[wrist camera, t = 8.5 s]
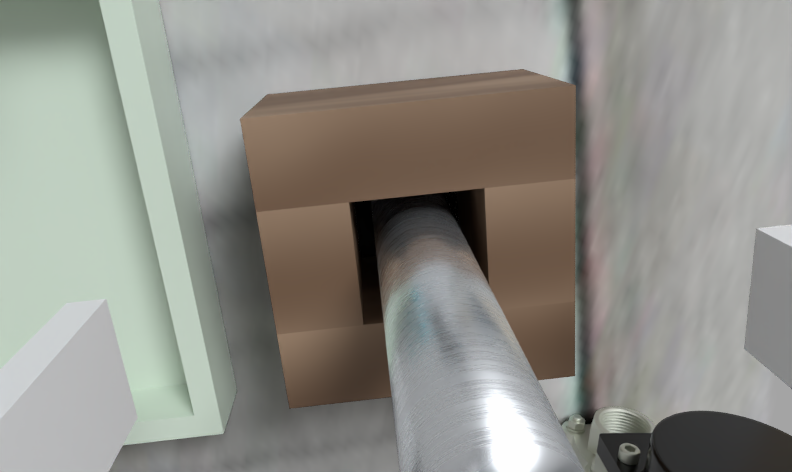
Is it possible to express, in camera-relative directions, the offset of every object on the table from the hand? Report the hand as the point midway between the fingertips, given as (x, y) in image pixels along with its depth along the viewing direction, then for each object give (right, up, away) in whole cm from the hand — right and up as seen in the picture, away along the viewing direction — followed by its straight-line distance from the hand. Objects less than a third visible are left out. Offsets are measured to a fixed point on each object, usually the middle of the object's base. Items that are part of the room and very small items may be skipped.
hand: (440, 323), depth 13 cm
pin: (0, +3, +8) cm, 9 cm away
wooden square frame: (-1, +3, +8) cm, 9 cm away
